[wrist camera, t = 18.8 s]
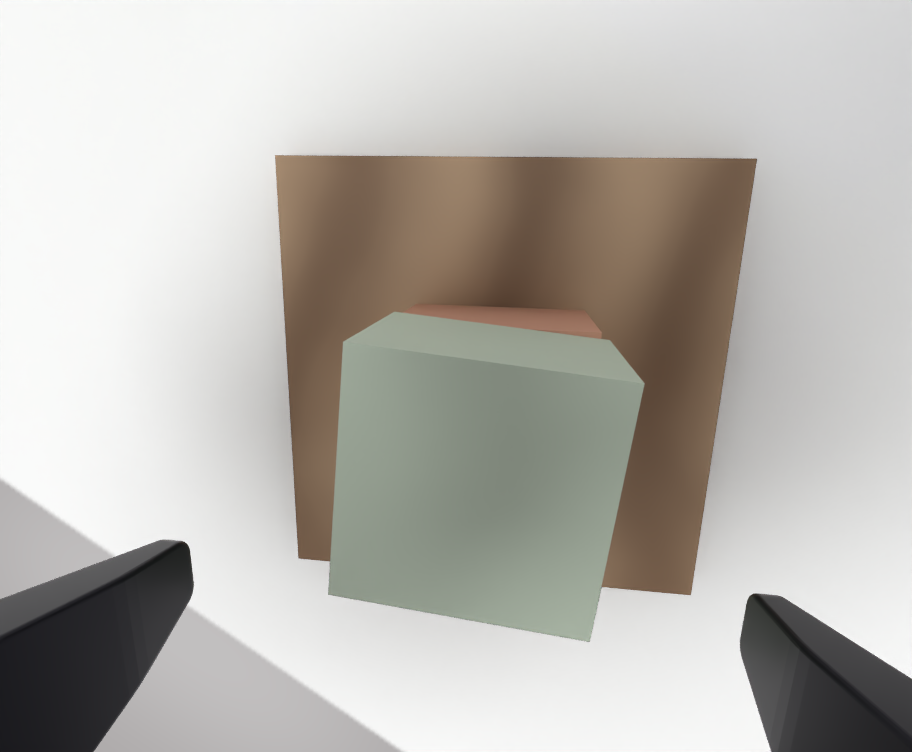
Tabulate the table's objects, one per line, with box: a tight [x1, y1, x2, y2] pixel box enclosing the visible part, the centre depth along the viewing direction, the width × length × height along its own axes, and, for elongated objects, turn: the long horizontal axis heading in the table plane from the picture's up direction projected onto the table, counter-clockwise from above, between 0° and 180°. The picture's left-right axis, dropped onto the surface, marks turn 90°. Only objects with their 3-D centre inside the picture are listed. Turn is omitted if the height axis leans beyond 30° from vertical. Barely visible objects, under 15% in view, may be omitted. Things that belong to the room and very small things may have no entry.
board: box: [275, 155, 757, 595], centre depth 21 cm, size 16×16×1 cm
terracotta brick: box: [402, 304, 602, 339], centre depth 18 cm, size 6×6×4 cm
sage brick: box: [328, 312, 645, 642], centre depth 14 cm, size 6×6×4 cm
